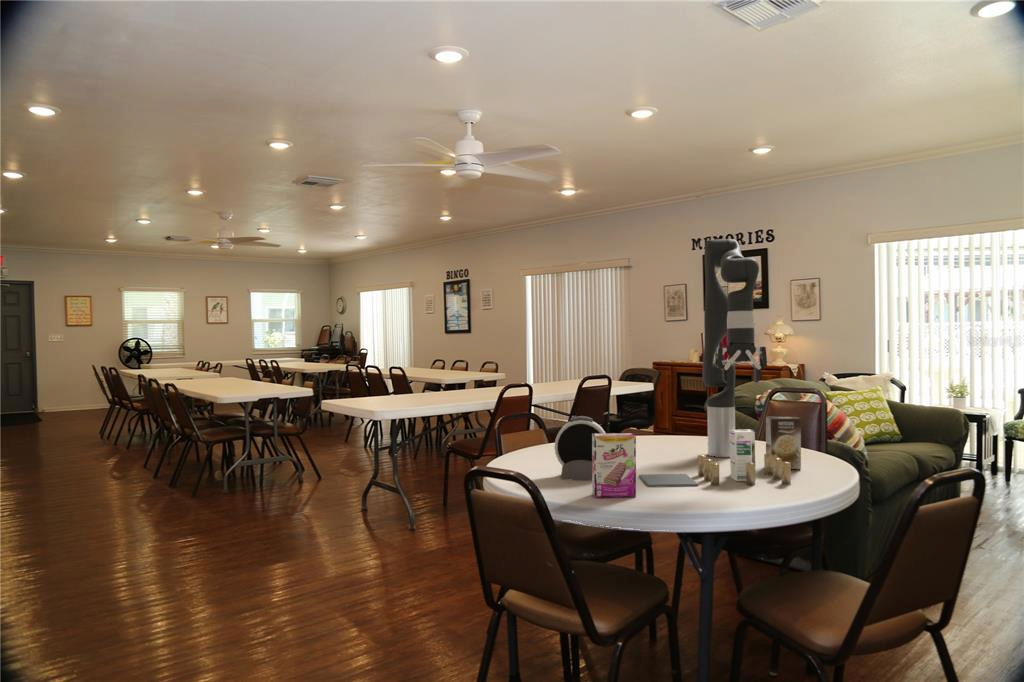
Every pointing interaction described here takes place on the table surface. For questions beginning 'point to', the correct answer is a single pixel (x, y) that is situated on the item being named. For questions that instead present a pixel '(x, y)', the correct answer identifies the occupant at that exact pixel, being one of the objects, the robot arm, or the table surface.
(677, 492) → the table surface
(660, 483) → the mat
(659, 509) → the table surface
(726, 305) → the robot arm
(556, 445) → the alarm clock
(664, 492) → the table surface
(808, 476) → the table surface
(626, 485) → the candy bar box
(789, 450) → the coffee box
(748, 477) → the spacer field
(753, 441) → the syrup box
